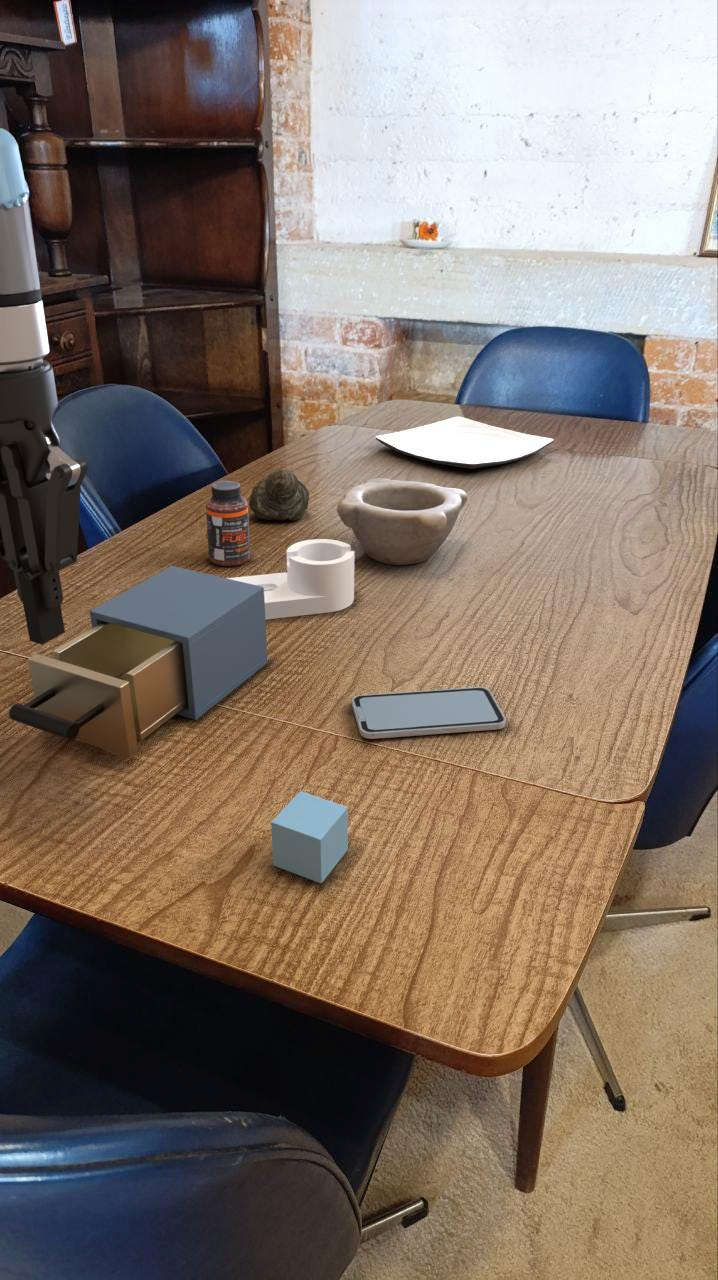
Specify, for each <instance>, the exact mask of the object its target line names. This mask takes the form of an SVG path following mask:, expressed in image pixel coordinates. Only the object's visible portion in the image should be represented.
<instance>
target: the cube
mask: <svg viewBox="0 0 718 1280" xmlns="http://www.w3.org/2000/svg"><path fill="white" fill-rule="evenodd" d="M270 823H271V825H270V826H271V827H270V828H271V845H272V846H271V847H272V863H273V864H272V865H273V866H274V867H276V868H279V869H282V870H285V871H287V872H290V873H292V874H295V875H297V876H300V877H302V878H306V879H307V880H311V881H313V882H316V883H319V884H323V882H324V881H325V880H326V879H327V877H328V876H329V875H330V873H332V871H333V869H334V868H335V867H336V866H337V864H338V863H339V862H340V861H341V859H342V858H343V857H344V856H345V854H346V853H347V851H348V850H349V807H348V806H345V805H343V804H340V803H337V802H334V801H331V800H328V799H325V798H323V797H319V796H316V795H314V794H310V793H308V792H304V791H301V790H300V791H299V792H297V794H296V795H295V796H294V797H293V798H292V799H291V800H290V802H288V804H287V805H286V806H284V807H283V809H282V810H281V811H280V812H279V813H278V814H277V815H276V817H274V819H273V820H272V821H271V822H270Z"/></svg>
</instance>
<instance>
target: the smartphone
mask: <svg viewBox="0 0 718 1280" xmlns="http://www.w3.org/2000/svg"><path fill="white" fill-rule="evenodd" d="M351 708H352V711H353V715H354V718H355V722H356V725H357V728H358V732H359V735H360V736H361V737H362V738H364V739H368V740H373V739H386V738H388V739H389V738H400V737H401V738H402V737H414V736H427V735H429V736H430V735H439V734H440V735H442V734H457V733H466V732H468V733H469V732H481V731H493V730H502V729H503V728H505V727H506V722H507V721H506V720H507V718H506V716H505V715H504V713H503V710H502V709H501V708H500V705H499V704H498V701H497V699H496V698H495V696H494V694H493V693H492V691H491V690H490V689H489V688H487V687H484V686H473V687H472V686H471V687H457V688H444V689H443V688H442V689H429V690H427V689H426V690H414V691H412V690H411V691H399V692H385V693H383V692H382V693H369V694H368V693H367V694H358V695H355V696H353V697H352V699H351Z"/></svg>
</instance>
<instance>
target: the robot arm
mask: <svg viewBox="0 0 718 1280" xmlns="http://www.w3.org/2000/svg"><path fill="white" fill-rule="evenodd" d="M19 149H20V148H19V145H18V142H17V141H16V139H15V137H14V136H13V135H12V133H10V132H9V131H8V130H7V129H4V128H2V127H0V559H3V560H4V561H6V563H7V566H8V568H10V569H11V570H12V571H13V576H14V580H15V585H16V592H17V596H18V598H19V601H20V602H22V605H23V606H22V607H23V612H24V617H25V621H26V627H27V633H28V638H29V641H30V642H33V643H36V644H38V645H42V646H43V645H45V644H46V643H48V642H50V641H53V639H55V638H58V637H59V636H61V635H63V634H64V633H66V629H65V624H64V618H63V612H62V611H63V610H62V606H61V604H63V602H64V595H63V589H62V588H63V587H62V582H61V577H60V571H61V570H64V569H66V568H68V567H70V566H72V565H74V564H76V563H77V561H78V547H79V546H78V545H79V526H80V523H79V522H80V508H81V506H80V505H81V491H82V490H81V488H82V485H83V482H84V480H85V476H86V475H87V473H88V469H89V467H88V463H87V461H86V460H85V459H84V458H82V457H79V458H76V459H72V458H71V457H70V456H69V455H68V454H67V453H66V452H65V451H63V449H62V448H61V439H60V437H59V434H58V433H57V432H56V429H55V426H54V424H53V418H54V414H55V412H56V411H57V409H58V405H59V401H58V395H57V388H56V381H55V375H54V368H53V365H52V364H50V362H49V361H48V360H46V359H44V358H45V357H47V356H48V355H49V353H50V345H49V338H48V337H49V336H48V330H47V324H46V317H45V310H44V303H43V296H42V291H41V284H40V275H39V268H38V262H37V255H36V247H35V246H36V245H35V240H34V239H35V238H34V232H33V224H32V217H31V216H32V215H31V208H30V203H29V202H30V201H29V198H30V190H29V185H28V183H27V180H26V179H25V175H24V169H23V163H22V160H21V154H20V150H19Z"/></svg>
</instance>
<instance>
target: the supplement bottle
mask: <svg viewBox="0 0 718 1280" xmlns="http://www.w3.org/2000/svg"><path fill="white" fill-rule="evenodd" d="M241 493H242V490H241V484H240V483H238V482H236V481H231V480H221V481H216V482H214V483H212V484H211V497H210V498H208V499H207V500H206V503H205V516H206V534H207V546H208V547H207V549H208V558H209V561H210V562H211V563H213V564H214V565H217V566H221V567H236V566H237V567H238V566H240V565H243V564H245V563H247V562H248V561H249V560H250V557H251V543H250V542H251V541H250V522H249V521H250V517H249V516H250V515H249V502H248V501H247V500H246V498H244V496H241Z"/></svg>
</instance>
